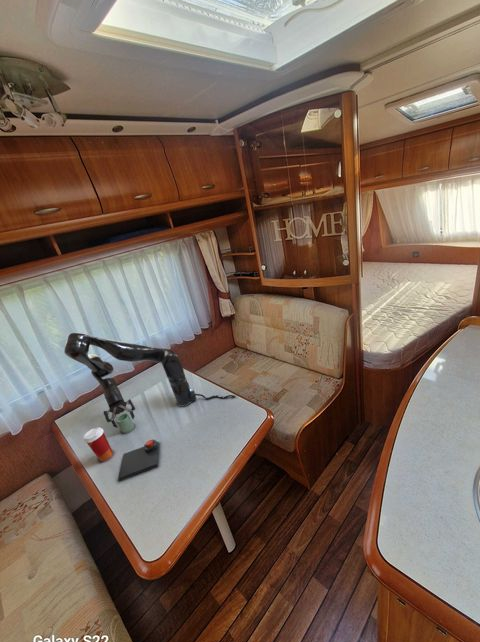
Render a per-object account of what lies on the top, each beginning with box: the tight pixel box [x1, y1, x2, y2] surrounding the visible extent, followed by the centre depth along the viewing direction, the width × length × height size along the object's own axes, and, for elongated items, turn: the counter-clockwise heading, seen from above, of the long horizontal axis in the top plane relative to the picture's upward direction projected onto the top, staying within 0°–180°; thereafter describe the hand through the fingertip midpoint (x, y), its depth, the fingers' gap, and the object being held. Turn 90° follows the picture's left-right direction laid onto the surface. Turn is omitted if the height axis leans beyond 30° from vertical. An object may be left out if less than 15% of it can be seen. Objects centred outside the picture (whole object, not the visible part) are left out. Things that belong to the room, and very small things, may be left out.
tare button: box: [145, 439, 154, 448], centre depth 126 cm, size 3×3×2 cm
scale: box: [117, 439, 160, 482], centre depth 122 cm, size 16×14×4 cm
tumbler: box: [115, 412, 135, 434], centre depth 144 cm, size 6×6×8 cm
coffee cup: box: [83, 426, 114, 462], centre depth 126 cm, size 8×8×15 cm
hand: (124, 423), depth 142 cm, fingers open, 8 cm apart
